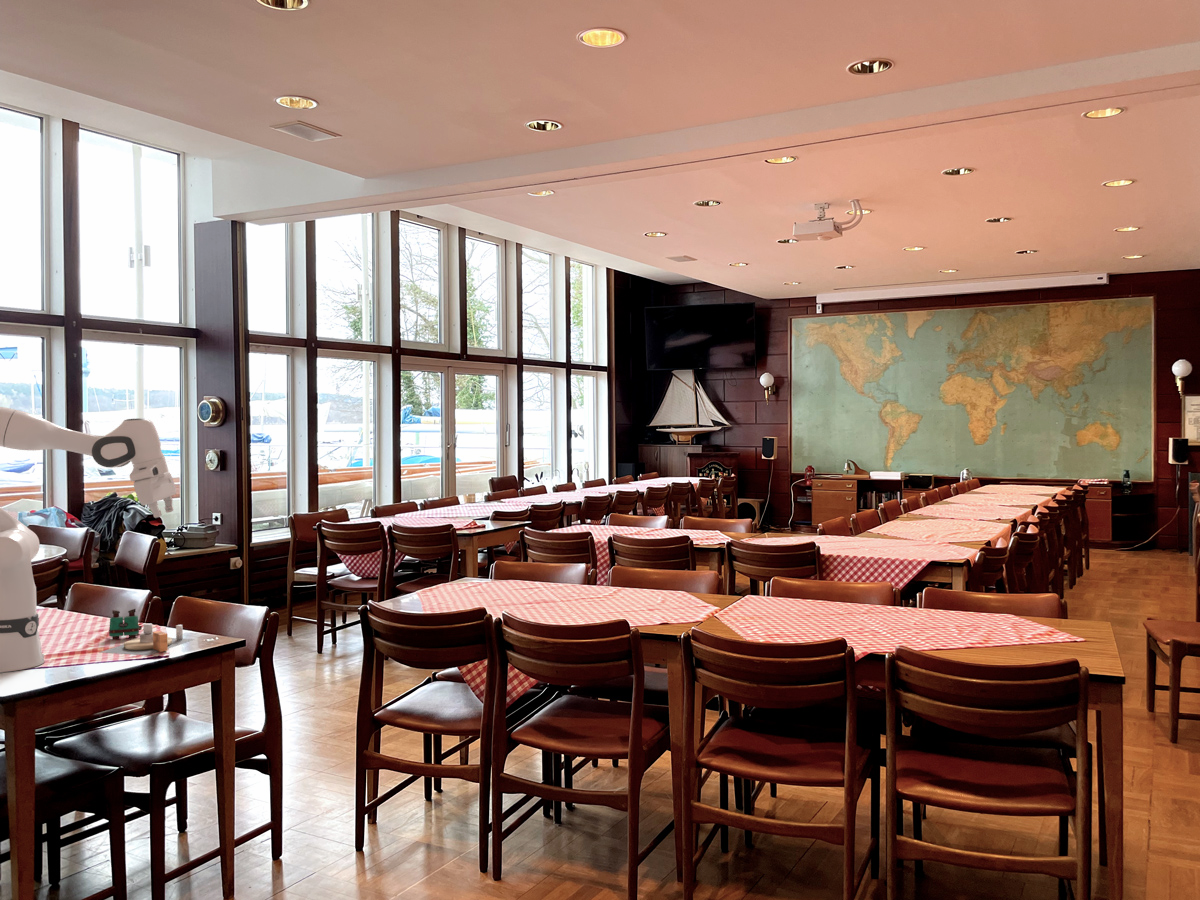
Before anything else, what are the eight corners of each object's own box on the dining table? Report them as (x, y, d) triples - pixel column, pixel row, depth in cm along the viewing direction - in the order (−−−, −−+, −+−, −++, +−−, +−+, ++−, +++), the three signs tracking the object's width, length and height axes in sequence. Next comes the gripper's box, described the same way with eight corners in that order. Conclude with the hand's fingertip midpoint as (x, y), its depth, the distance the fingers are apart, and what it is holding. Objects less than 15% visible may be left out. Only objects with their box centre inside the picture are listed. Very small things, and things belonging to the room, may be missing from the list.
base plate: (99, 657, 262) (98, 630, 262) (147, 641, 282) (147, 616, 281) (148, 660, 258) (148, 633, 258) (194, 644, 278) (194, 618, 278)
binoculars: (142, 606, 289) (138, 609, 280) (142, 639, 288) (139, 642, 279) (111, 608, 286) (106, 611, 276) (111, 641, 285) (106, 645, 276)
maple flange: (117, 645, 270) (117, 628, 270) (161, 637, 279) (161, 621, 279) (140, 655, 257) (140, 638, 257) (186, 647, 267) (186, 630, 267)
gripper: (154, 468, 277) (166, 511, 278) (126, 476, 256) (140, 522, 258) (174, 463, 277) (186, 506, 279) (148, 471, 257) (162, 517, 258)
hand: (164, 514), depth 268 cm, fingers open, 8 cm apart
